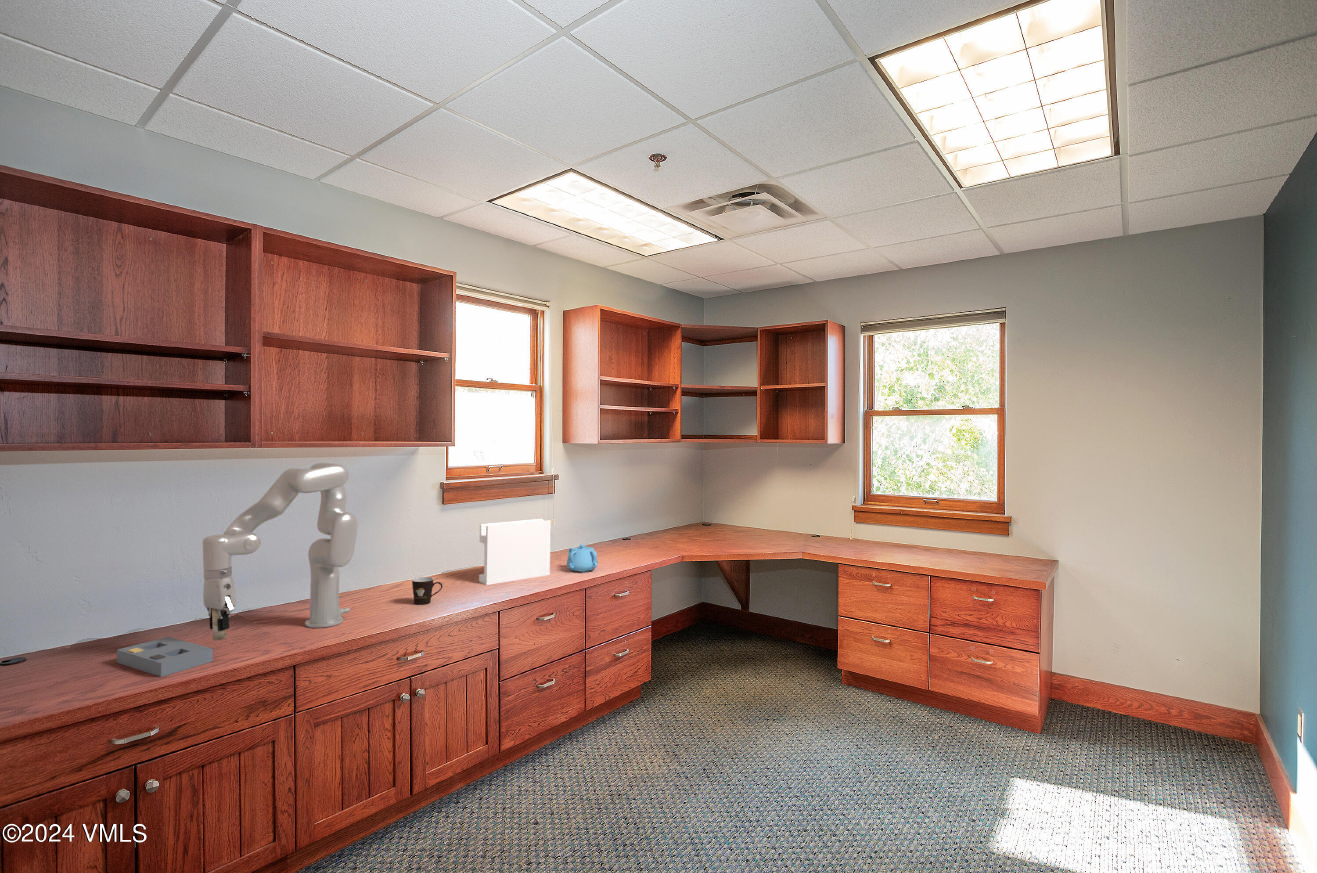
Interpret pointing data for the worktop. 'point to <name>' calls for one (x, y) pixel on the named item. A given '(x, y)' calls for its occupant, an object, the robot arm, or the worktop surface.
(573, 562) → the decorative pot
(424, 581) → the coffee mug
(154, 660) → the socket block
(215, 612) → the plug
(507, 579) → the block
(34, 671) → the worktop surface
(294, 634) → the worktop surface
